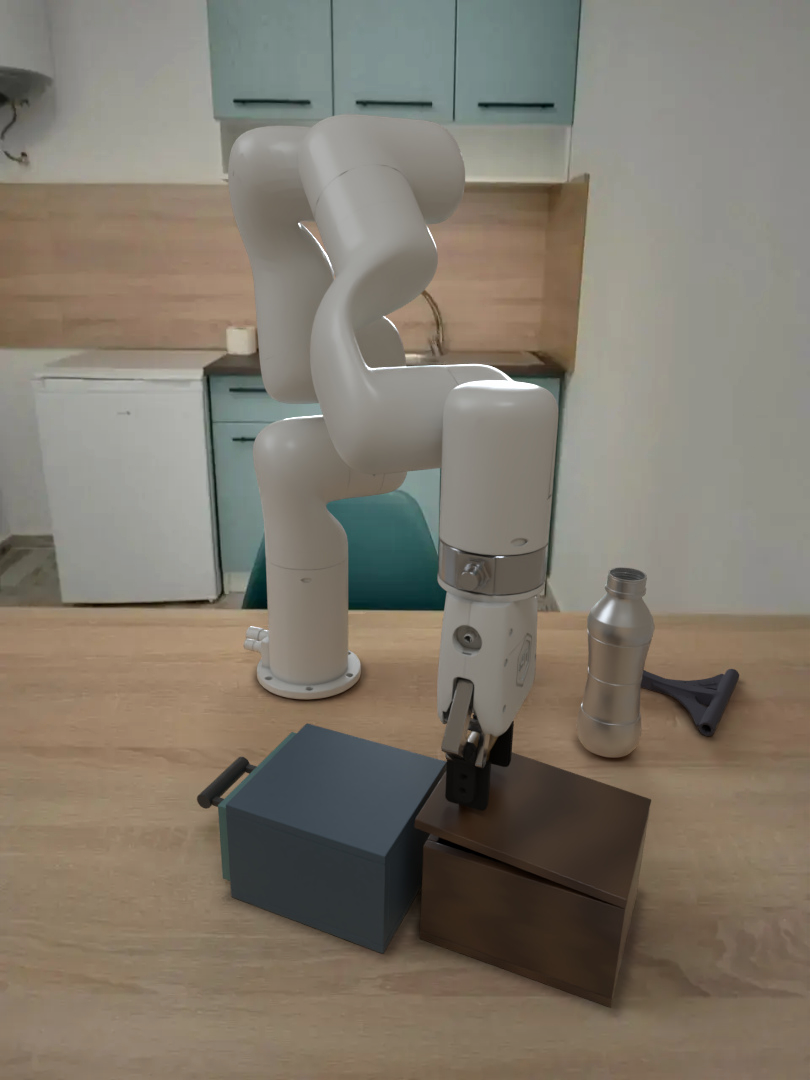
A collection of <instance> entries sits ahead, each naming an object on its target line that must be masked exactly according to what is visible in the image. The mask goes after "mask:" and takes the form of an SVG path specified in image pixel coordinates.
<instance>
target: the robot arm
mask: <svg viewBox="0 0 810 1080" xmlns="http://www.w3.org/2000/svg"><path fill="white" fill-rule="evenodd" d="M230 149H231V150H230V152H229V158H228V165H227V168H228V169H227V177H228V178H227V183H228V194H229V201H230V205H231V209H232V214H233V217H234V220H235V223H236V226H237V229H238V232H239V235H240V238H241V241H242V243H243V246H244V249H245V251H246V254H247V258H248V261H249V265H250V267H251V273H252V280H253V291H254V305H255V318H256V319H255V320H256V332H257V333H256V334H257V342H258V343H257V344H258V345H257V346H258V355H259V356H258V357H259V365H260V374H261V380H262V383H263V386H264V389H265V392H266V393H267V395H268V396H269V397H270V398H271V399H272V400H274V401H276V402H278V403H282V404H287V405H288V404H289V405H312V404H319V408H320V410H321V414H319V415H306V416H295V417H294V416H293V417H288V418H284V419H280V420H276V421H273V422H271V423H270V424H269V423H268V424H267V425H266V426H264V427H263V428H262V429H261V430H260V431H259V432H258V433H257V434H256V438H255V439H254V442H253V446H252V460H253V468H254V473H255V478H256V482H257V487H258V492H259V498H260V503H261V511H262V519H263V520H262V521H263V532H264V534H263V535H264V554H265V572H266V575H265V576H266V600H267V601H266V604H267V605H266V606H267V629H265V628H262V627H257V626H254V625H250V626H248V628H247V629H246V632H245V640H244V642H243V648H244V650H247V651H251V652H257V653H259V654H260V655H261V659H260V660H259V661H258V663H257V665H256V678H257V681H258V682H259V685H261V686H262V687H263V688H264V689H265V690H267V691H268V692H270V693H272V694H274V695H277V696H279V697H283V698H287V699H293V700H318V699H325V698H329V697H334V696H336V695H340V694H342V693H344V692H346V691H348V690H349V689H350V688H352V687H353V686H354V685H355V684H356V683H357V682H358V681H359V679H360V678H361V674H362V664H361V663H362V662H361V661H360V658H359V657H358V656H357V654H355V653H354V652H353V651H351V650H350V649H349V540H348V535H347V533H346V530H345V529H344V527H343V525H342V523H341V522H340V521H339V520H338V519H337V518H336V517H335V515H333V514H332V513H331V512H330V511H329V509H328V507H327V505H328V504H329V503H332V502H336V501H341V500H348V499H355V498H365V497H373V496H379V495H385V494H389V493H393V492H395V491H397V490H398V489H399V488H400V487H401V486H402V485H403V484H404V482H405V480H406V478H407V475H408V473H409V472H417V471H427V470H434V469H435V470H436V469H441V471H440V472H441V473H440V477H441V478H440V496H439V497H440V501H439V522H438V524H439V529H438V534H439V535H438V556H437V577H436V578H437V580H436V581H437V583H438V585H439V586H440V587H441V589H443V590H444V591H446V592H445V593H446V594H445V601H444V608H443V614H442V615H443V616H442V623H441V625H442V626H441V632H440V644H439V652H438V653H439V655H438V665H437V666H438V668H437V683H436V708H437V717H438V719H439V721H440V722H441V723H442V724H443V725H446V726H445V728H444V733H443V737H442V742H441V748H440V749H441V752H443V753H445V760H446V762H447V767H446V791H445V798H446V799H447V800H448V801H449V802H452V803H456V804H459V805H463V806H467V807H470V808H474V809H477V810H481V811H484V810H485V809H486V808H487V806H488V803H489V788H490V772H491V764H494V765H498V766H502V767H508V766H509V764H510V762H511V755H512V752H513V739H514V728H515V727H514V726H515V721H514V720H515V717H516V716H517V714H518V713H519V711H520V709H521V707H522V706H523V704H524V703H525V700H526V698H527V697H528V696H529V693H530V691H531V689H532V687H533V685H534V682H535V679H536V669H537V646H538V645H537V644H538V643H537V642H538V606H539V605H538V601H539V600H538V599H539V598H538V596H539V595H540V594H541V593H542V592H543V590H545V586H546V573H547V561H548V548H549V547H548V546H549V537H550V536H549V535H550V525H551V513H552V501H553V489H554V479H555V464H556V454H557V453H556V452H557V441H558V439H557V437H558V428H559V427H558V425H559V405H558V402H557V399H556V397H555V396H554V394H553V393H551V391H549V390H548V389H547V388H546V387H542V386H540V385H537V384H534V383H530V382H529V383H528V382H523V381H522V382H521V381H515V380H514V379H512V378H511V377H510V376H509V375H508V374H506V373H505V372H504V371H502V370H500V369H499V368H497V367H493V366H491V365H487V364H479V363H468V364H467V363H464V364H446V365H445V364H443V365H441V364H436V365H435V364H433V365H412V366H411V365H410V366H409V365H408V366H407V360H406V359H407V358H406V351H405V346H404V344H403V339H402V337H401V335H400V332H399V330H398V328H397V327H396V326H395V324H394V323H393V322H392V321H391V320H390V319H388V318H387V317H386V316H388V315H390V314H393V313H394V312H396V311H399V309H402V308H403V307H404V306H406V305H408V304H409V303H411V302H413V301H414V300H415V299H416V298H418V297H419V296H420V295H422V293H423V292H424V291H425V290H426V289H427V288H428V286H429V285H430V283H431V282H432V281H433V279H434V276H435V275H436V271H437V270H438V268H437V267H438V264H439V254H438V249H437V245H436V242H435V240H434V238H433V235H432V233H431V231H430V229H429V227H428V225H436V224H441V223H443V222H446V221H447V220H448V219H450V218H451V217H452V216H453V215H454V214H455V212H456V211H457V210H458V208H459V206H460V205H461V203H462V200H463V196H464V193H465V187H466V168H465V167H466V166H465V161H464V157H463V154H462V152H461V149H460V147H459V144H458V142H457V141H456V139H455V137H454V135H452V134H451V132H450V131H449V130H448V129H447V128H445V127H444V126H442V124H440V123H438V122H435V121H432V120H426V119H425V120H424V119H416V118H415V119H414V118H405V117H396V116H395V117H393V116H382V115H374V114H373V115H372V114H360V113H359V114H358V113H357V114H356V113H344V114H343V113H342V114H337V115H332V116H328V117H326V118H324V119H321V120H319V121H318V122H317V123H315V124H314V125H312V126H303V125H266V126H259V127H255V128H252V129H249V130H247V131H244V132H243V133H241V134H240V135H239V136H238V137H237V138H236V139H235V141H234V143H233V144H232V146H231V148H230ZM302 222H309V223H311V222H313V223H314V222H315V225H316V227H317V230H318V233H319V236H320V239H321V242H322V245H323V247H324V248H323V247H322V246H321V244H320V242H319V241H318V240H317V238H316V237H315V236H314V235H313V234H312V232H311V231H309V230H308V228H306V226H305V225H304V224H303V223H302ZM468 731H469V732H470V731H473V732H477V733H479V738H478V745H477V747H476V746H475V744H474V743H471V742H468V740H467V736H468ZM490 734H492V735H493V736H494V737H498V736H499V737H498V738H497V740H496V742H495V744H494V745H493V747H492V749H491V750H490V754H489V760H488V761H487V753H488V746H489V739H490Z"/></svg>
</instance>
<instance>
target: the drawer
mask: <svg viewBox="0 0 810 1080" xmlns="http://www.w3.org/2000/svg"><path fill="white" fill-rule="evenodd" d="M297 733H298V732H294V731H291V732H290V733H289V734H288V735H287V736H286V737H284V739H283V740H282V741H280V743H279V744H278V745H277V746H276V747H275V748H274V749H273V750H272V751H270V753H268V755H267V756H266V757H265V758H264V759H263V760H262V761H261V762H260V763H259V764H258V765H254V764H251V763H250V761H249V759H248V758H246V757H244V756H238V757H237V758H236V759H235V760H234V761H233V762H232V763H231V764H230V765H229V766H228V767H227V768H225V770H224V771H222V772H221V773H220V774H219V775H218V776H217V777H216V778H215V779H214V780H213V781H212V782H211V783H209V785H207V787H205V788H204V789H203V790H202V791H201V792H200V793H199V794H198V795H197V797H196V802H197V804H198V805H199V806H200V807H201V808H202V809H210V808H211V807H212V806H214V807H215V808H217V814H218V828H219V829H218V830H219V844H220V858H221V874H222V876H221V877H222V879H223V880H226V881H228V882H230V869H229V853H228V837H227V821H226V813H227V812H226V804H227V803H228V802H229V801H230V800H231V799H232V798H233V797H234V796H235V795H236V794H237V793H238V792H239V791H240V790H241V789H242V788H243V787H244V786H245V785H246V784H247V783H248V782H249V781H250V780H251V779H252V778H253V777H254V776H255V775H256V774H257V773H258V772H259V771H260V770H261V769H262V768H263V767H264V766H265V765H266V764H267V763H268V762H269V761H270V760H271V759H272V758H273V757H274V756H275V755H276V754H277V753H278V752H279V751H280V750H281V749H282V748H283V747H284V746H285V745H286V744H287V743H288V742H289V741H290V740H291V739H292V738H293V737H294V736H295V735H296V734H297ZM245 774H248V775H247V776H246V777H244V779H243V780H242V781H240V783H238V784H237V786H236V787H235V788H233V789H232V791H230V793H228V795H227V796H226V797H225V798H223V797H222V796H223V795H224V794H225V793H226V792H227V791H228V790H229V789H230V788H231V787H232V786H233V785H234V784H235V783H237V781H238V780H239V779H240V778H242V777H243V775H245Z"/></svg>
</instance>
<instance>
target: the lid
mask: <svg viewBox="0 0 810 1080" xmlns="http://www.w3.org/2000/svg"><path fill="white" fill-rule="evenodd" d="M498 737H499V736H498ZM498 737H494V736H493V735H492V734H490V739H489V746H488V753H487V761H488V760H489V754H490V750H491V749H492V747H493V745H494V744H495V742H496V740H497V738H498ZM478 738H479V733H477V732H473V731H469V733H468V734H467V740H468V742H471V743H474V744H475V746H476V747H477V745H478ZM445 791H446V772H445V774H444V775H443V777H442V778H441V780H440V781H439V783H438V785H437V786H436V788H435V789H434V791H433V792H432V794H431V795H430V797H429V799H428V800H427V802H426V803H425V805H424V806H423V808H422V809H421V811H420V813H419V814H418V816H417V817H416V819H415V824H414V827H415V828H417V829H419V830H422V831H425V832H427V833H430V834H432V835H435V836H438V837H440V838H443V839H445V840H448V841H451V842H453V843H456V844H458V845H461V846H463V847H466V848H469V849H471V850H474V851H476V852H479V853H482V854H484V855H487V856H489V857H492V858H495V859H497V860H500V861H502V862H505V863H507V864H510V865H513V866H515V867H518V868H520V869H523V870H526V871H528V872H531V873H533V874H536V875H539V876H541V877H544V878H546V879H549V880H552V881H554V882H557V883H559V884H562V885H564V886H567V887H570V888H572V889H575V890H577V891H580V892H583V893H585V894H588V895H590V896H593V897H596V898H598V899H601V900H603V901H606V902H608V903H611V904H614V905H616V906H619V907H621V908H625V907H626V904H627V900H628V896H629V892H630V887H631V883H632V879H633V875H634V871H635V867H636V863H637V858H638V854H639V850H640V846H641V842H642V838H643V833H644V829H645V825H646V821H647V817H648V813H649V814H650V811H649V809H650V810H651V804H652V799H651V798H650V797H645V796H643V795H640V794H636V793H634V792H631V791H628V790H625V789H622V788H619V787H616V786H613V785H610V784H608V783H604V782H601V781H598V780H595V779H592V778H589V777H586V776H584V775H581V774H578V773H574V772H572V771H570V770H566V769H564V768H561V767H557V766H554V765H552V764H549V763H546V762H544V761H543V762H542V761H539V760H538V759H534V758H531V757H528V756H524V755H522V754H518V753H515V752H513V751H512V755H511V762H510V764H509V766H508V767H502V766H498V765H494V764H491V772H490V788H489V803H488V806H487V808H486V809H485V810H484V811H481V810H477V809H474V808H470V807H467V806H463V805H459V804H456V803H452V802H449V801H448V800H447V799H446V798H445ZM648 818H649V817H648Z"/></svg>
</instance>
